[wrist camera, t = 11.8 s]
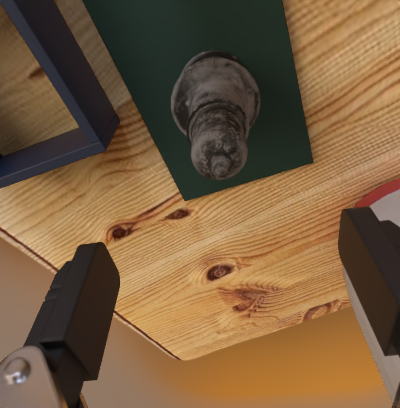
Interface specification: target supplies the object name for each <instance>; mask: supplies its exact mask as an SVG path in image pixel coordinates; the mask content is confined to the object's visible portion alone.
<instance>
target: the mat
mask: <svg viewBox="0 0 400 408" xmlns="http://www.w3.org/2000/svg"><path fill="white" fill-rule="evenodd" d="M83 2H84V3H85V5H86V7H87V9H88V11H89V13H90V15H91V17H92V19H93V21H94V23H95V25H96V27H97V29H98V31H99V33H100V35H101V37H102V39H103V41H104V43H105V45H106V47H107V49H108V51H109V53H110V55H111V57H112V59H113V61H114V63H115V65H116V67H117V69H118V71H119V73H120V74H121V76H122V78H123V80H124V82H125V84H126V86H127V88H128V90H129V92H130V94H131V96H132V98H133V100H134V102H135V104H136V106H137V108H138V110H139V112H140V114H141V116H142V118H143V120H144V122H145V124H146V126H147V128H148V130H149V132H150V134H151V136H152V138H153V140H154V142H155V144H156V145H157V147H158V149H159V151H160V153H161V155H162V157H163V159H164V161H165V163H166V165H167V167H168V169H169V171H170V173H171V175H172V177H173V179H174V181H175V183H176V185H177V187H178V189H179V191H180V193H181V195H182V197H183V199H184V201H188V200H191V199H194V198H198V197H201V196H204V195H207V194H211V193H214V192H217V191H221V190H224V189H227V188H231V187H234V186H237V185H241V184H244V183H247V182H251V181H254V180H257V179H261V178H264V177H267V176H271V175H274V174H277V173H281V172H284V171H287V170H291V169H294V168H297V167H300V166H304V165H307V164H310V163H313V158H312V153H311V147H310V142H309V137H308V132H307V127H306V122H305V116H304V111H303V106H302V101H301V96H300V90H299V85H298V80H297V75H296V70H295V65H294V59H293V54H292V49H291V44H290V39H289V33H288V28H287V23H286V18H285V13H284V8H283V2H282V0H83ZM210 50H221V51H225V52H227V53H230V54H232V55H233V56H235V57H236V58H238V59H239V60H240V61H241V63H242V64H243V65H244V67H245V68H246V69H247V70H248V71H249V73H250V74H251V75H252V76H253V78H254V79H255V81H256V84H257V86H258V89H259V93H260V108H259V114H258V116H257V118H256V120H255V123H254V124H253V126H252V127H251V128H250V129H249V134H248V137H247V139H246V143H247V149H248V154H247V159H246V162H245V164H244V166H243V168H242V169H241V170H240V171H239V172H238V173H237V174H235V175H234V176H232V177H230V178H228V179H223V180H213V179H209V178H206V177H204V176H202V175H201V174H200V173H199V172H198V171H197V170H196V168H195V167H194V165H193V162H192V158H191V146H190V144H189V142H188V140H187V136H186V135H185V134H184V133H183V132H182V131H181V130H180V129H179V127H178V126H177V124H176V122H175V121H174V118H173V114H172V110H171V96H172V92H173V88H174V85H175V83H176V82H177V80H178V78H179V77H180V75H181V72H182V71H183V69H184V67H185V65H186V64H187V63H188V62H189V61H190V60H191V59H192V58H193V57H194V56H196V55H198V54H200V53H202V52H205V51H210Z"/></svg>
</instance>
